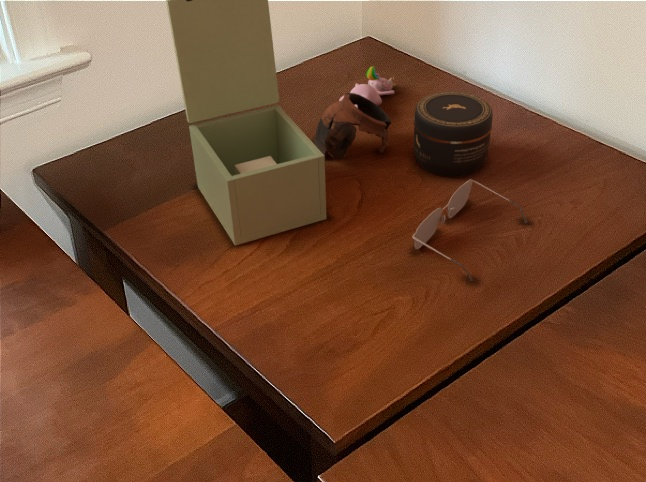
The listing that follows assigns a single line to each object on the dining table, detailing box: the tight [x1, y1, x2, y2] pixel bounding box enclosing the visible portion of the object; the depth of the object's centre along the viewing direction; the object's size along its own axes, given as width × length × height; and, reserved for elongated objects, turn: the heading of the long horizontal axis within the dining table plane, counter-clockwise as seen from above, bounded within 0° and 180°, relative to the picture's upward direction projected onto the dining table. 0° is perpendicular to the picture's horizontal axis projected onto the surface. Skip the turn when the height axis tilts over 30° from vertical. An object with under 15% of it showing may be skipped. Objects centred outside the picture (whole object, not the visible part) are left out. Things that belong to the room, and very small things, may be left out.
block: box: [235, 156, 276, 175], centre depth 98 cm, size 5×5×5 cm
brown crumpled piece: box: [312, 92, 392, 160], centre depth 108 cm, size 12×10×8 cm
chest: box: [188, 104, 327, 246], centre depth 98 cm, size 14×12×9 cm
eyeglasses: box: [412, 178, 528, 282], centre depth 93 cm, size 14×8×4 cm, turn 145°
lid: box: [165, 0, 280, 124], centre depth 97 cm, size 14×12×5 cm
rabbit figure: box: [338, 65, 396, 108], centre depth 118 cm, size 6×6×15 cm
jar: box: [412, 90, 494, 178], centre depth 106 cm, size 10×10×8 cm
